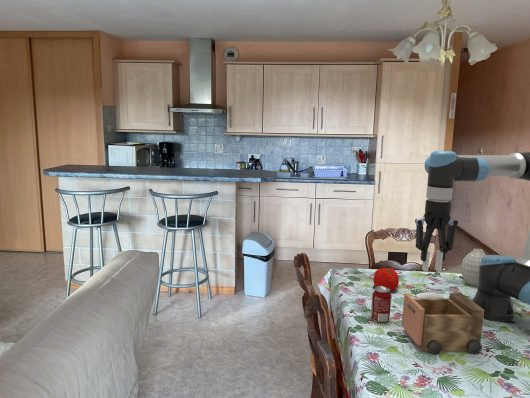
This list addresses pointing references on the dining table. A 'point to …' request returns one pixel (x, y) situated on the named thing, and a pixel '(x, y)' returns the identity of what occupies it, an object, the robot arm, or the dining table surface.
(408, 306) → the cabinet door
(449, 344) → the truck
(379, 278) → the tomato
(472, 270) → the vase
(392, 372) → the dining table surface
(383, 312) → the soda can
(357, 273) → the dining table surface
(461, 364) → the dining table surface
